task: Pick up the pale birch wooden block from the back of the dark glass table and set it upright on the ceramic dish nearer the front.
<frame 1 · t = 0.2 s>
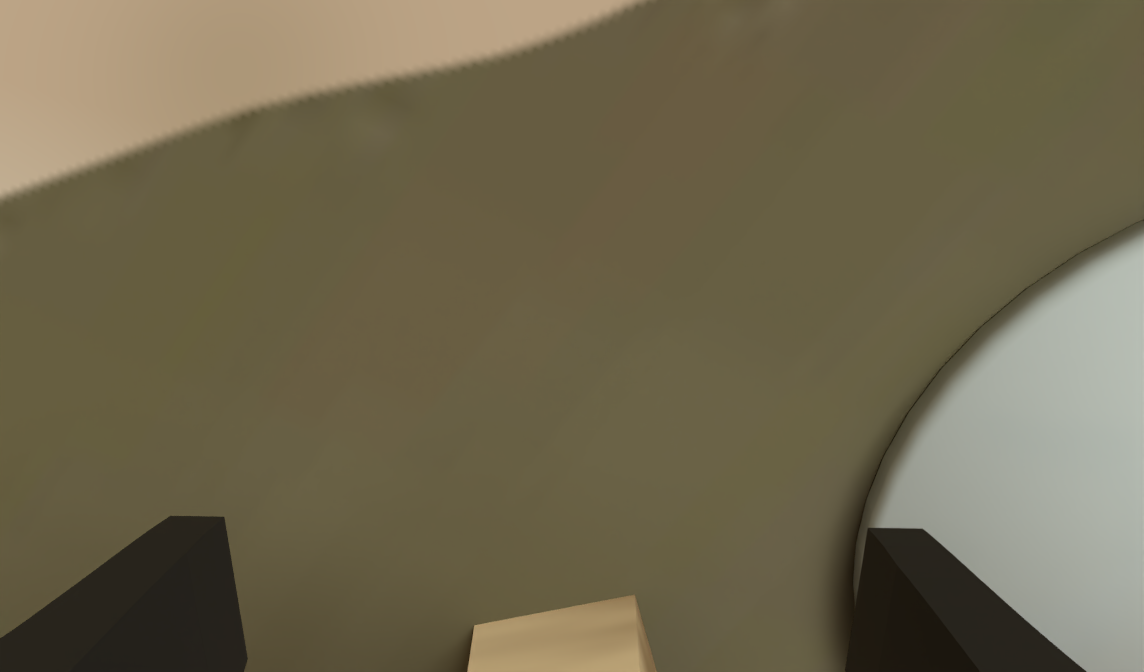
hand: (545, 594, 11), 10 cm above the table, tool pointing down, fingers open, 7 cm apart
block: (574, 671, 25), on the table
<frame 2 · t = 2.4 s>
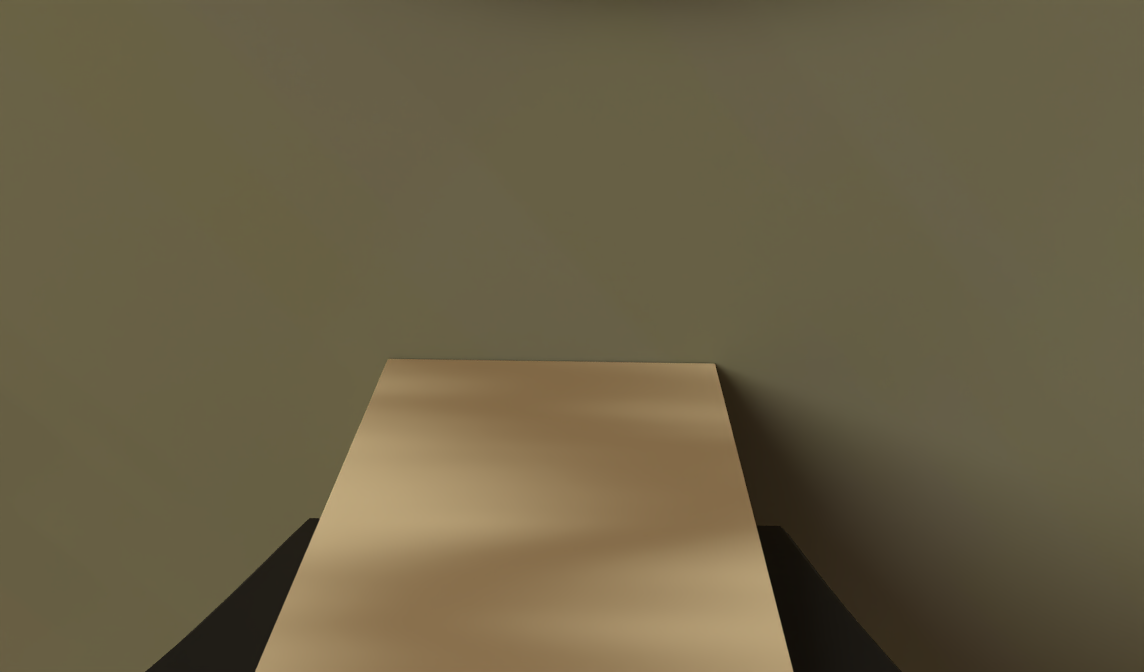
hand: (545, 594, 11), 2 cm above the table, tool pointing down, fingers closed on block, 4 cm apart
block: (551, 498, 13), on the table, touching gripper
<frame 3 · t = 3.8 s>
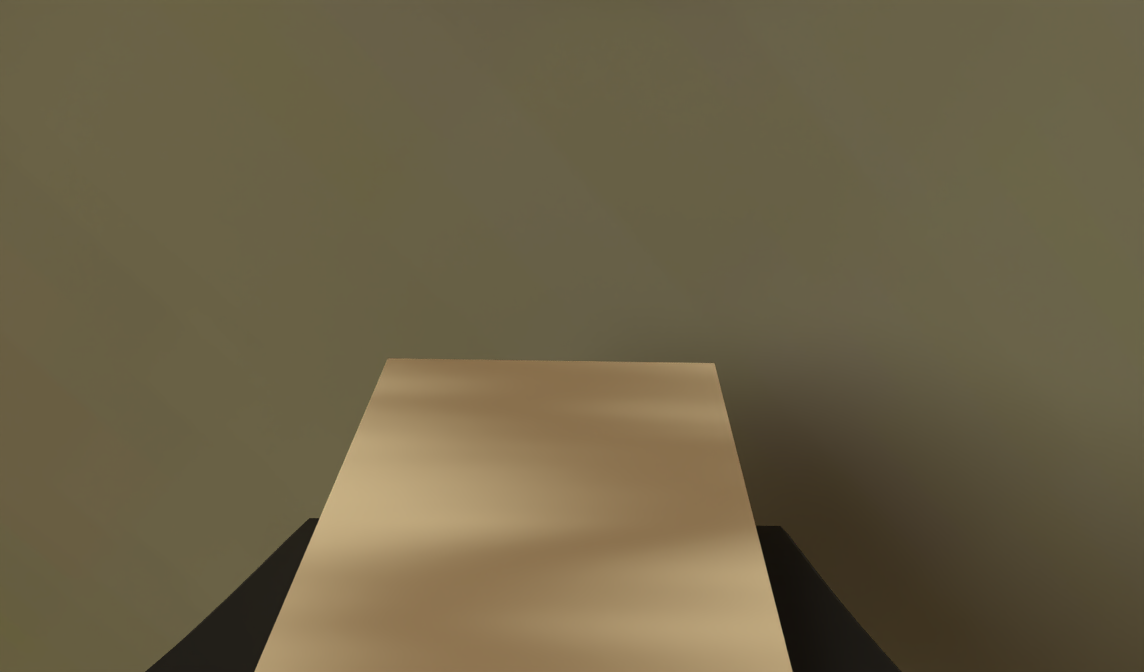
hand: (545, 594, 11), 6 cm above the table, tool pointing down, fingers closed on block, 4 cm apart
block: (550, 498, 13), point 4 cm above the table, touching gripper
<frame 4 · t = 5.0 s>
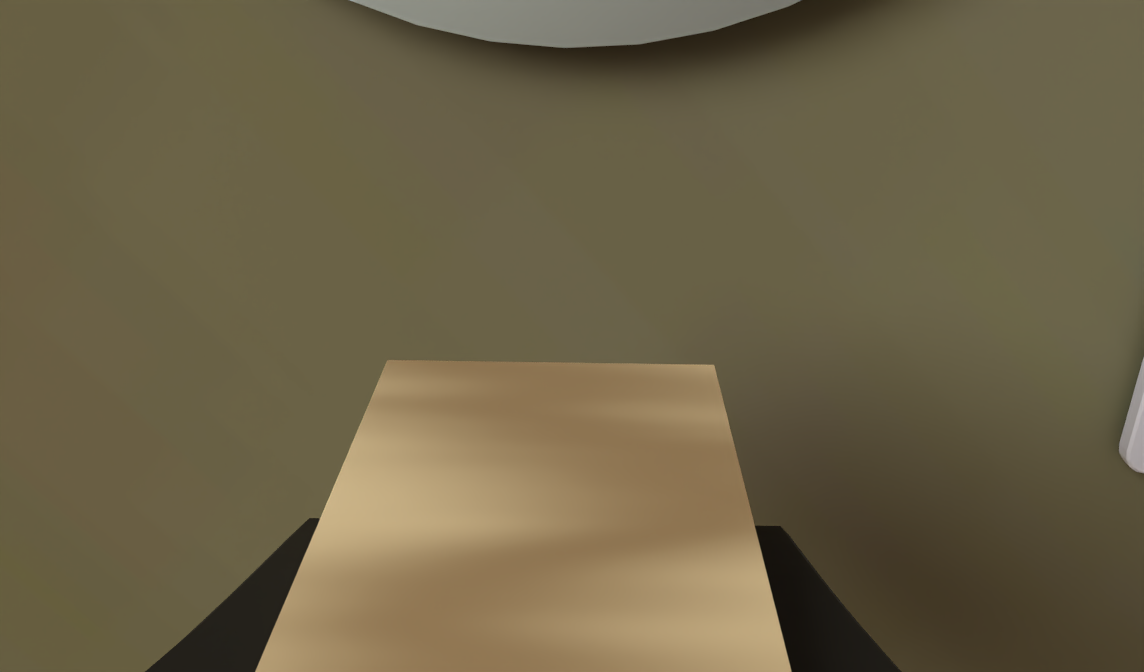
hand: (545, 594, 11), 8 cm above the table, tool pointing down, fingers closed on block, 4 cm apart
block: (550, 499, 13), point 6 cm above the table, touching gripper
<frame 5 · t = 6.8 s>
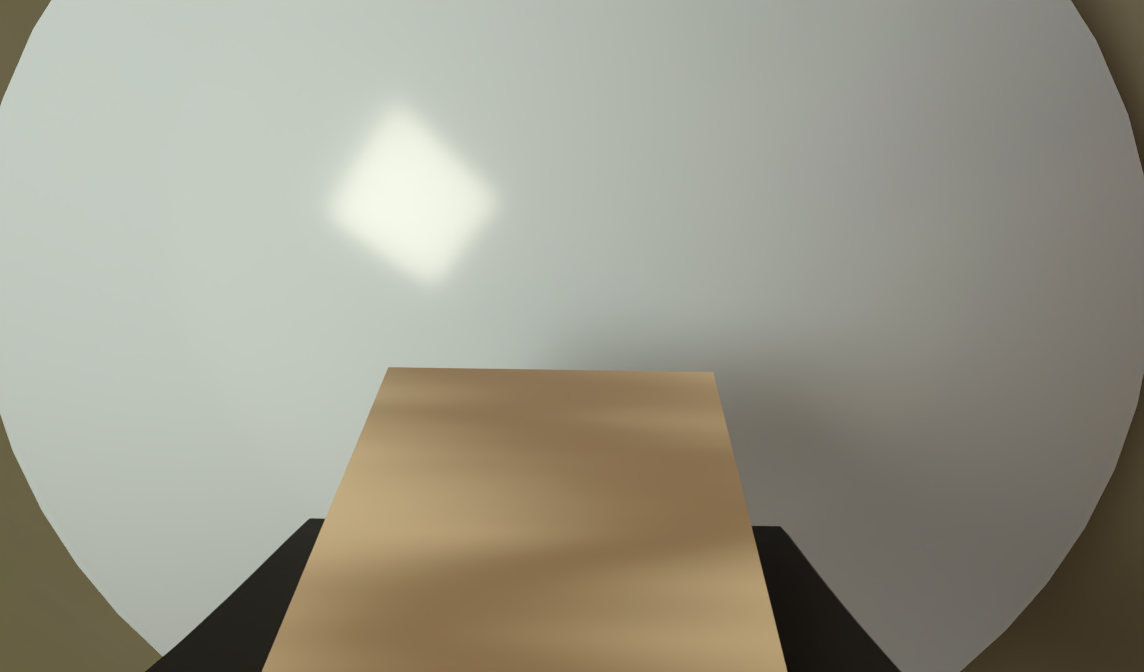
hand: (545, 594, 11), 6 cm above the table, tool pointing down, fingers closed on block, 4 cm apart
dish: (561, 362, 17), on the table
block: (550, 505, 13), point 4 cm above the table, touching gripper
when the fingers open (4 cm above the table, at t = 8.0 s): block drops 1 cm, resting on dish.
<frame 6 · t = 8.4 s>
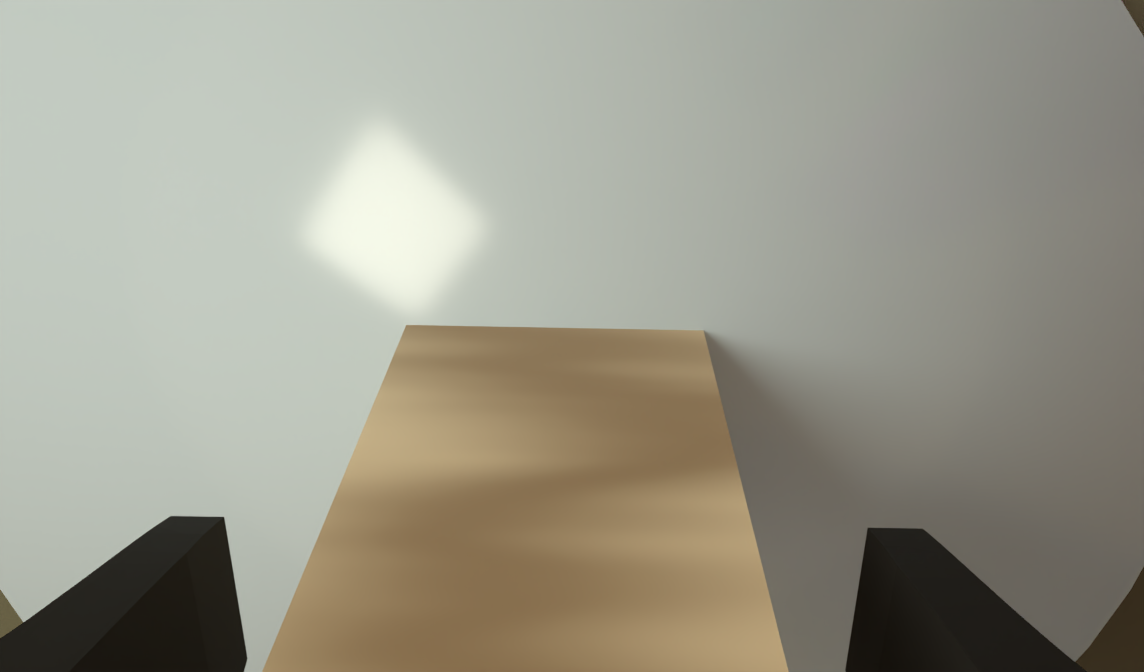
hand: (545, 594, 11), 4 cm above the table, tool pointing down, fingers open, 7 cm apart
dish: (557, 407, 15), on the table
block: (553, 455, 14), point 1 cm above the table, touching dish
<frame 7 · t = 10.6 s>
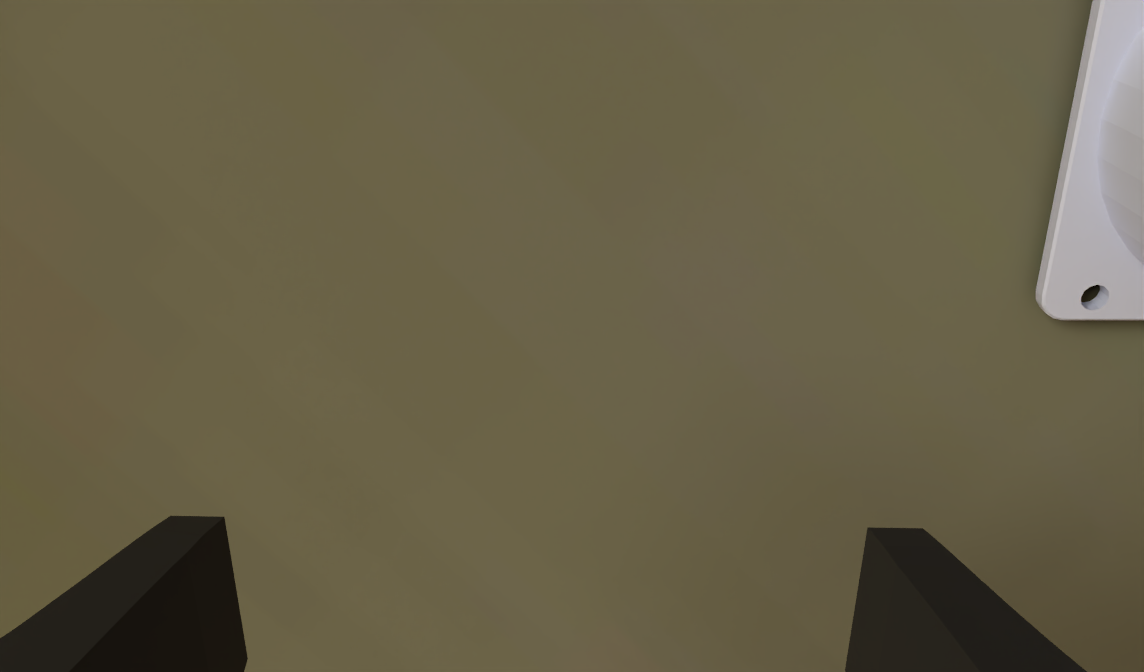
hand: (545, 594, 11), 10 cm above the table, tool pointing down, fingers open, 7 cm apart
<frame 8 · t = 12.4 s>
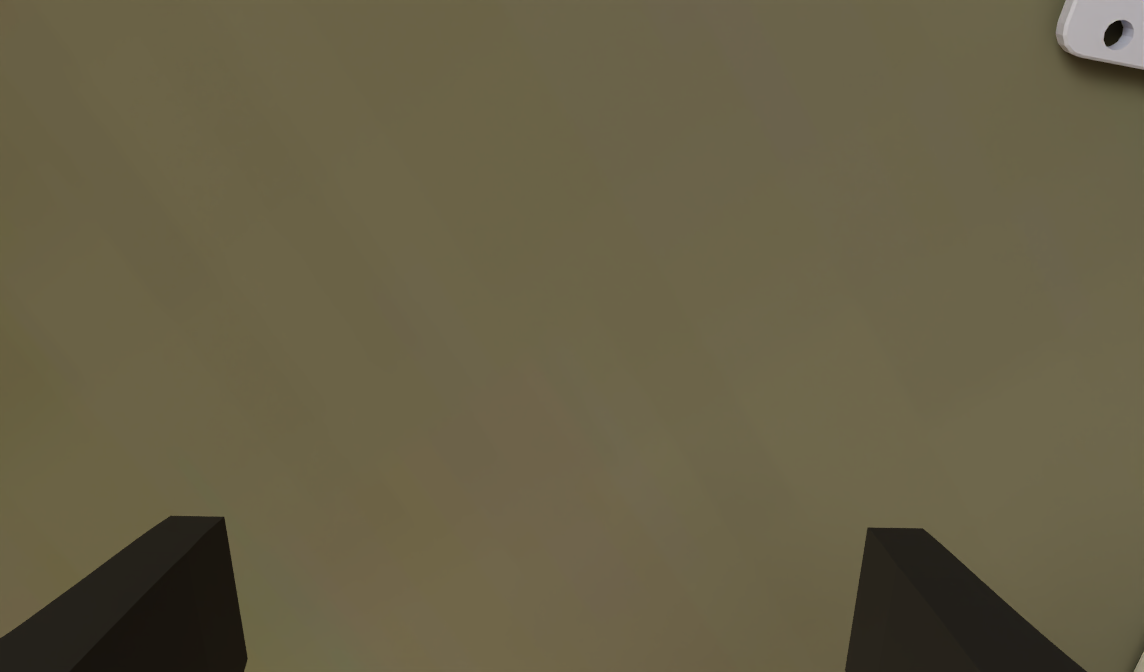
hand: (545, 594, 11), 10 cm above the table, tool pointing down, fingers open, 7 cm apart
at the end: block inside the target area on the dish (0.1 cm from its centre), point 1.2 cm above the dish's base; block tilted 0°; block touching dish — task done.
